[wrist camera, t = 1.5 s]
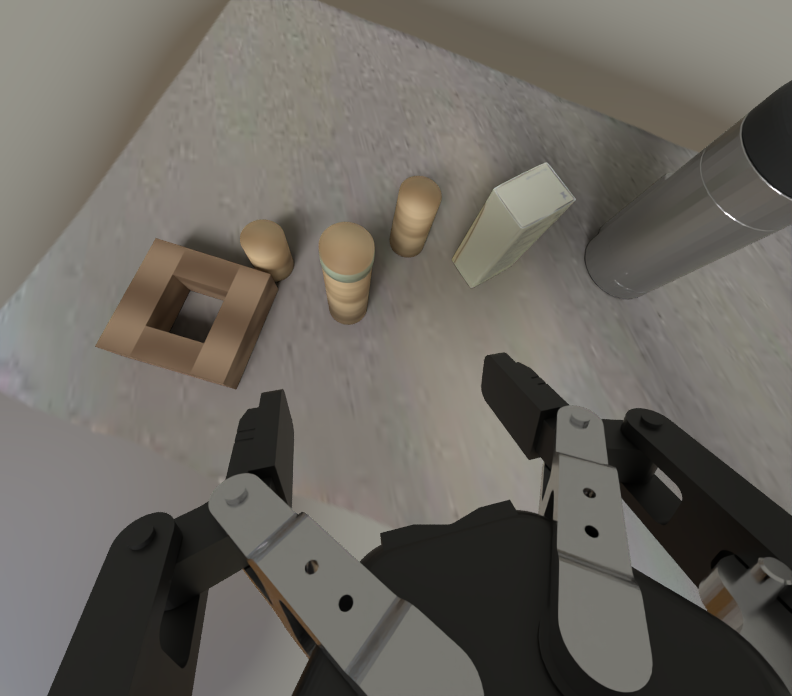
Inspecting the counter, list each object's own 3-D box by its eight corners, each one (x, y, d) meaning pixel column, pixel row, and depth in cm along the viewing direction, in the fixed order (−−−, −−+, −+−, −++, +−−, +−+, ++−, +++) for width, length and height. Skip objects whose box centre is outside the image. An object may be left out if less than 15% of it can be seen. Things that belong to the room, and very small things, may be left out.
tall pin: (335, 284, 36) (328, 214, 25) (371, 295, 36) (381, 231, 25) (323, 318, 35) (309, 261, 23) (360, 329, 35) (365, 279, 24)
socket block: (174, 257, 34) (155, 238, 31) (278, 289, 35) (270, 274, 32) (122, 355, 31) (94, 346, 28) (236, 389, 32) (222, 384, 29)
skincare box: (490, 238, 40) (548, 158, 29) (512, 268, 40) (579, 198, 28) (448, 260, 39) (491, 185, 27) (470, 291, 38) (523, 228, 26)
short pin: (263, 243, 36) (250, 214, 31) (299, 254, 36) (291, 227, 32) (249, 274, 35) (232, 249, 30) (285, 286, 35) (275, 263, 31)
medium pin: (394, 222, 39) (405, 170, 31) (427, 232, 39) (445, 183, 32) (385, 251, 38) (394, 204, 30) (418, 261, 38) (435, 218, 30)
